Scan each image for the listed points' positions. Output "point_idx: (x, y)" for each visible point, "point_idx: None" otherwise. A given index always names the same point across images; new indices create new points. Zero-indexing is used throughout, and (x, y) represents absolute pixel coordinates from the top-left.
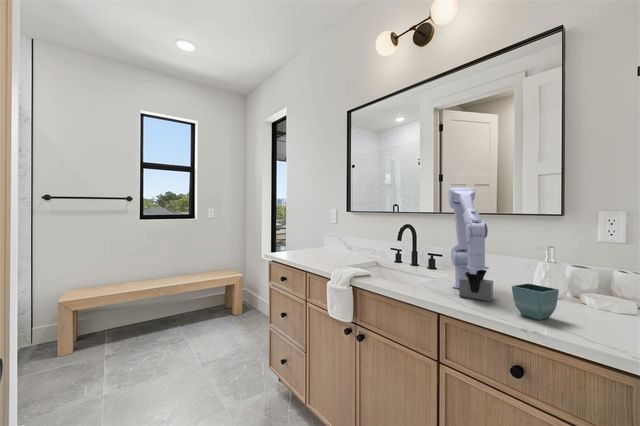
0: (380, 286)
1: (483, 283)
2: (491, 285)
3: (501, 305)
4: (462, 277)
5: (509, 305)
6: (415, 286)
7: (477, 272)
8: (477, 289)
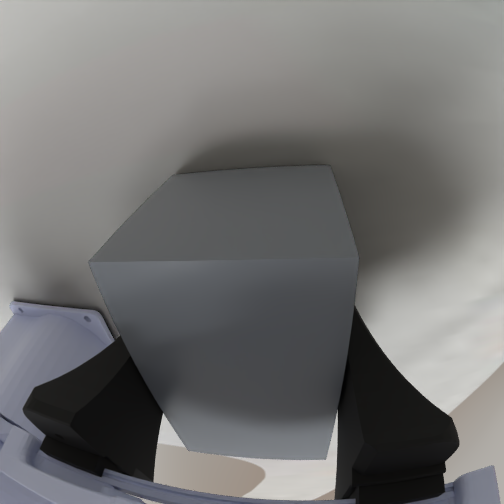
0: (335, 486)
1: (350, 333)
2: (351, 241)
3: (382, 79)
4: (233, 454)
5: (330, 21)
6: (253, 458)
7: (127, 447)
8: (358, 319)
